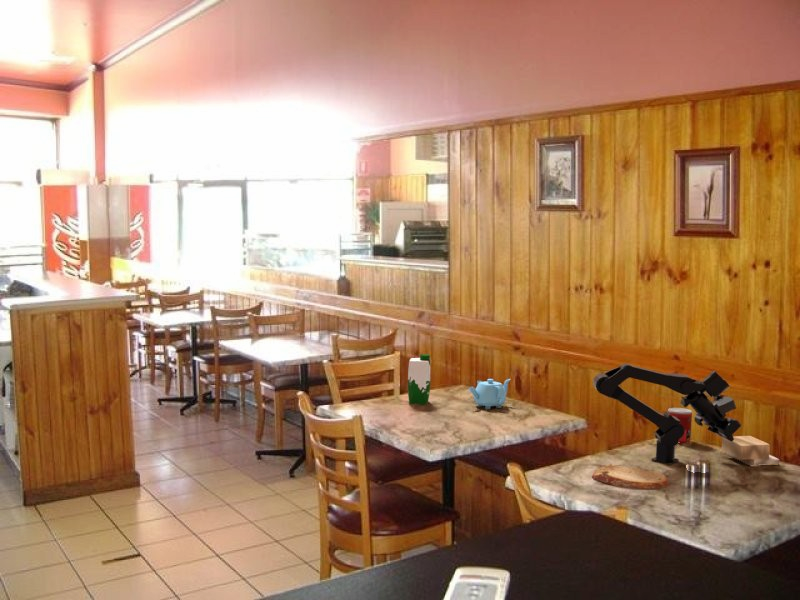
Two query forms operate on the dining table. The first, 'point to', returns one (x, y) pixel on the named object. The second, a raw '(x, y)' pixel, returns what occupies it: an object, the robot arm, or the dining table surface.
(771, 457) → the board
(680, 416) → the canned food
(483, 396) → the teapot
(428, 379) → the milk carton
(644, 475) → the bread slice
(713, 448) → the dining table surface
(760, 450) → the light brown wooden block
